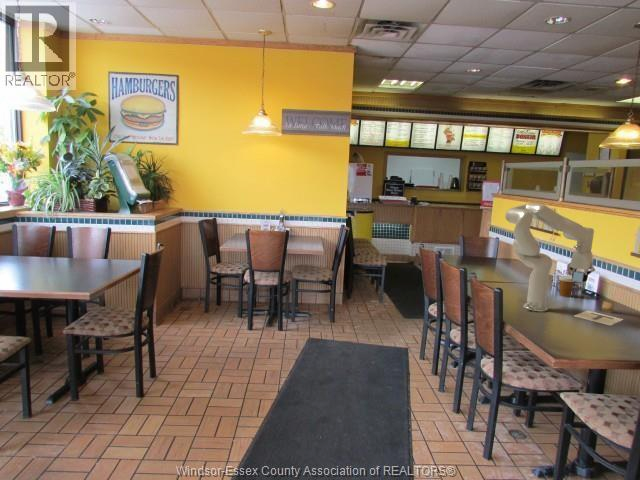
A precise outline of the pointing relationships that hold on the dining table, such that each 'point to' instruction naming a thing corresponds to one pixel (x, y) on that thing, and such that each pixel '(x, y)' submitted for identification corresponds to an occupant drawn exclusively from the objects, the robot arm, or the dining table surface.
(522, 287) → the dining table surface
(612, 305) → the wood cylinder
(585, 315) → the letter mat
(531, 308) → the robot arm
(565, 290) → the disposable coffee cup
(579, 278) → the slate cube
